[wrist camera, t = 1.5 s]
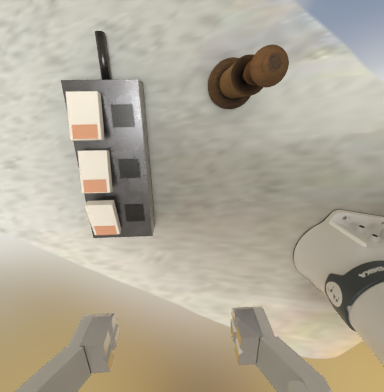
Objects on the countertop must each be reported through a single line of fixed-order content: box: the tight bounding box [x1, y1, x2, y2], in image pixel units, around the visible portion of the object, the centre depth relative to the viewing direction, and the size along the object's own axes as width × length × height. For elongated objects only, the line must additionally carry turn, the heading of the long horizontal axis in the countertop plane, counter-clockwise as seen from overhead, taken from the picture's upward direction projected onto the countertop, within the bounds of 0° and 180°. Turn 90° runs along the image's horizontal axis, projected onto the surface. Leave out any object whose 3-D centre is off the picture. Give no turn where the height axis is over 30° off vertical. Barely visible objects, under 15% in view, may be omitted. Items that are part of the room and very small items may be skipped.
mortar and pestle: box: [208, 45, 289, 109], centre depth 25 cm, size 7×6×18 cm
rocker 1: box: [66, 91, 105, 141], centre depth 29 cm, size 4×6×1 cm, turn 1°
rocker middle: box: [78, 150, 113, 193], centre depth 32 cm, size 4×6×1 cm, turn 1°
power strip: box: [61, 31, 155, 238], centre depth 34 cm, size 10×30×5 cm, turn 1°
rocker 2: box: [84, 200, 121, 235], centre depth 35 cm, size 4×6×1 cm, turn 1°
